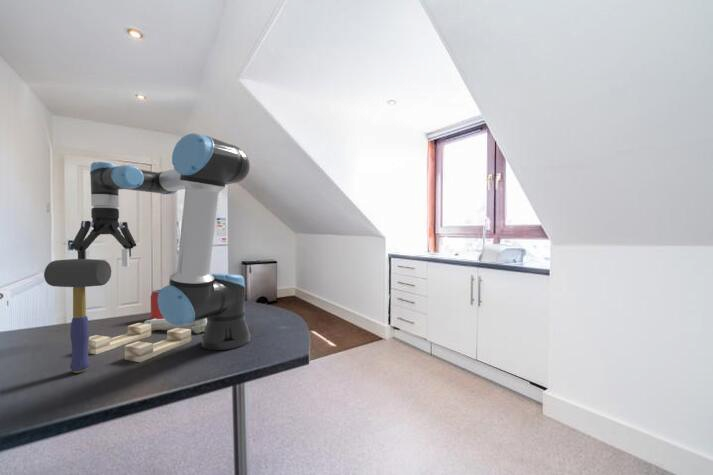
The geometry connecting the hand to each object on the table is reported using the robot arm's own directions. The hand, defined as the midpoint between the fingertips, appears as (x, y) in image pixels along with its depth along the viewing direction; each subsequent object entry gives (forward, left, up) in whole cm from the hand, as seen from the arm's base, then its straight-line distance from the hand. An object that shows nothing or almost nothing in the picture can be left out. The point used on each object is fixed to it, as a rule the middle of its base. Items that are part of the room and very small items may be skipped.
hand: (106, 268), depth 109 cm
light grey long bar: (-17, -13, -25) cm, 33 cm away
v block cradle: (-19, +3, -24) cm, 31 cm away
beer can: (+3, -23, -24) cm, 34 cm away
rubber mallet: (-21, +21, -24) cm, 39 cm away
